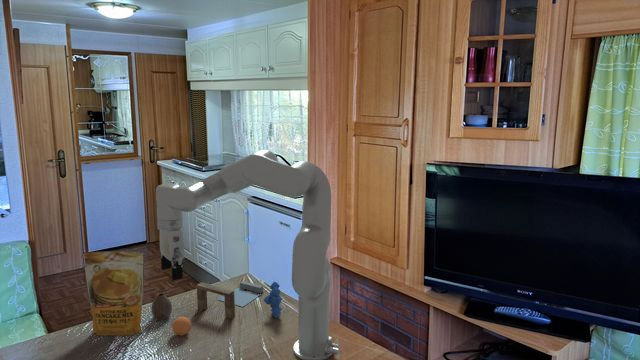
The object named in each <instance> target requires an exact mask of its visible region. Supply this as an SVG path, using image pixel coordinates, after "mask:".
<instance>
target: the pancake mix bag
mask: <svg viewBox="0 0 640 360" xmlns="http://www.w3.org/2000/svg"><path fill="white" fill-rule="evenodd" d="M81 256H82V261H83V262H82V263H83V270H84V274H85V282H86V287H87V293H88V297H89V305H90V310H91V315H92V331H91V332H92V334H96V335H97V336H98V337H118V336H119V337H120V336H121V337H127V336H128V337H129V336H130V337H131V336H135V335H137V334H140V333H143V330H142V327H141V323H142V312H143V310H142V309H143V297H144V285H145V262H146V261H145V260H146V259H145V253H143V252H141V251H139V250H124V251H117V250H110V251H109V250H106V251H105V250H104V251H89V252H86V253H83V254H82V255H81Z"/></svg>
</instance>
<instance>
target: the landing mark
mask: <svg viewBox="0 0 640 360" xmlns="http://www.w3.org/2000/svg"><path fill="white" fill-rule="evenodd" d="M232 290H233V291H234V300H235V306H237V307H241V308H244V307H246V306H247V305H249V304H250V303H251V302H253V301H254V300H256V299H257V298H259V297H260V296H261V295H260V294H261V293H260V294H259V293H258V294H259V295H258V294H256V293H252V294H251V293H246V292H245V290H244V289H240V287H236V288H235V289H232ZM258 296H259V297H258ZM217 300H218V301H220V302H223V303H225V297H224V296H223V295H222V297H220V298H218V299H217Z"/></svg>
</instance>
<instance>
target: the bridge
mask: <svg viewBox="0 0 640 360" xmlns="http://www.w3.org/2000/svg"><path fill="white" fill-rule="evenodd" d="M233 290H234V289H230V288H226V287H221V286H219V285H218V286H217V285H215V284H211V283H207V282H203V281H202V282H200V283H198V284H196V300H197V301H196V304H197V310H199V311H203V310H206V309H207V308H208V292H210V293H212V294H217V295H220V296H222V297H223V296H224V297H225V302H224V318H225V319H227V320H231V319H232V318H234V317H235V316H236V311H235V310H236V305H235V300H234V291H233Z"/></svg>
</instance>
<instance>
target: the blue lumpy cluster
mask: <svg viewBox="0 0 640 360" xmlns="http://www.w3.org/2000/svg"><path fill="white" fill-rule="evenodd" d="M279 287H280V284H279V283H278V282H277V281H273V282H272V283H271V285H270V286H269V288H270V289H271V290H270V292H269V294H267V295H265V297H264V298H263V302H264V303H265V304H266V305H269V306H270V308H271V309H270V311H271V315H272V316H273V317H274V318H279V317H280V315H281V314H282V307H280V304H281V303H282V300H283V298H282V296H281V295H280V293H281V290H280V288H279Z"/></svg>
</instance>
